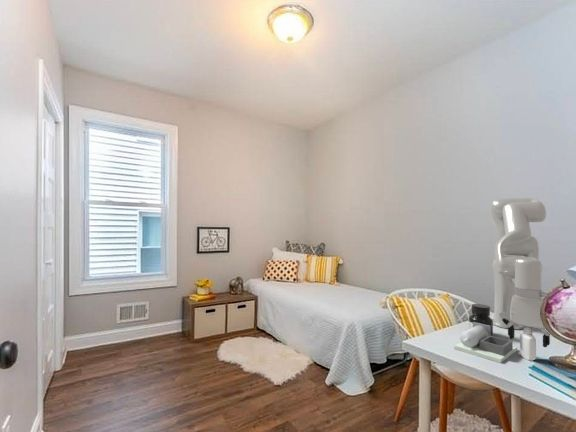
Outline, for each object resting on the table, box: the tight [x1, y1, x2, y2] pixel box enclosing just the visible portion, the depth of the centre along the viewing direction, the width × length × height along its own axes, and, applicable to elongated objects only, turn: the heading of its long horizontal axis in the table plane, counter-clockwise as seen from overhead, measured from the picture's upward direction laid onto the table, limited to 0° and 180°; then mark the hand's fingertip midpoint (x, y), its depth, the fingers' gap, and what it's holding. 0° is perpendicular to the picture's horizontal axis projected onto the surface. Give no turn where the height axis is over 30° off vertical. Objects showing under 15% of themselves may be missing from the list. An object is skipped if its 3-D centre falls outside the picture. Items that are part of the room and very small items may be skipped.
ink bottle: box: [468, 303, 494, 336], centre depth 136 cm, size 10×9×12 cm
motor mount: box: [453, 322, 518, 364], centre depth 118 cm, size 18×15×7 cm
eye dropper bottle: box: [519, 326, 537, 362], centre depth 111 cm, size 4×6×12 cm
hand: (528, 342), depth 111 cm, fingers open, 9 cm apart
